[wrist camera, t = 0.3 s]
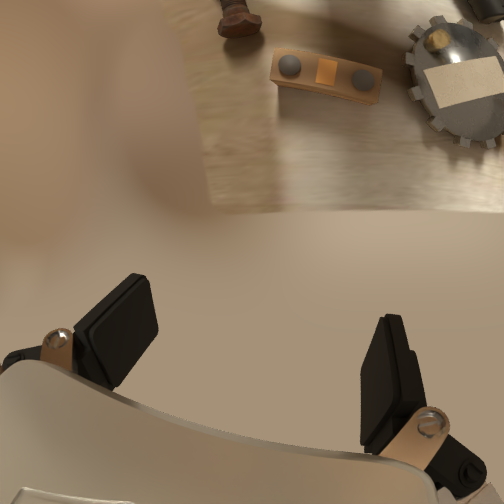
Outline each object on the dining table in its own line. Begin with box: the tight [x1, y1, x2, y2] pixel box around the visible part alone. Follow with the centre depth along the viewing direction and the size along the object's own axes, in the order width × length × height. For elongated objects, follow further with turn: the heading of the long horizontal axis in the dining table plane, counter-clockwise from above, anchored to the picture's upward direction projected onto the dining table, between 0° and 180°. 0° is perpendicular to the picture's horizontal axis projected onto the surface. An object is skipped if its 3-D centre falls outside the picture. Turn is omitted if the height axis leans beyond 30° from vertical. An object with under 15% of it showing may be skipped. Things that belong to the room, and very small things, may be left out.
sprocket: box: [402, 15, 504, 149], centre depth 21 cm, size 18×18×6 cm
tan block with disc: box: [270, 48, 383, 105], centre depth 28 cm, size 4×12×7 cm, turn 82°
